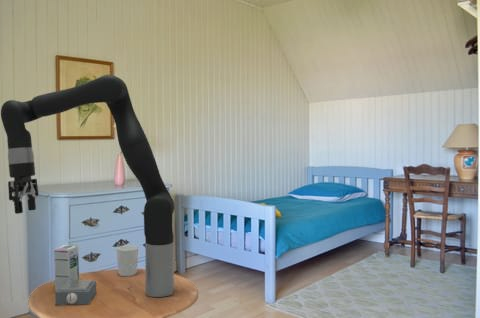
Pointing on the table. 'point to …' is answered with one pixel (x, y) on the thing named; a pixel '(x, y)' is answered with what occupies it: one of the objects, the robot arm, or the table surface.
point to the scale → (75, 296)
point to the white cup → (127, 260)
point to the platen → (76, 285)
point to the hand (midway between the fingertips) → (25, 211)
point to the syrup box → (66, 264)
